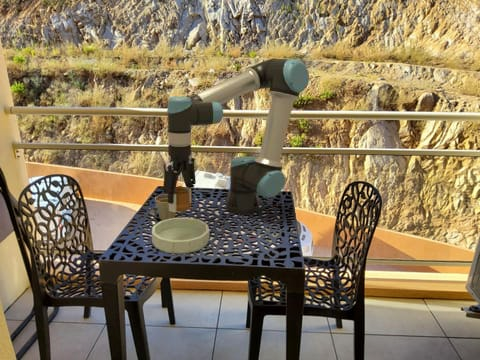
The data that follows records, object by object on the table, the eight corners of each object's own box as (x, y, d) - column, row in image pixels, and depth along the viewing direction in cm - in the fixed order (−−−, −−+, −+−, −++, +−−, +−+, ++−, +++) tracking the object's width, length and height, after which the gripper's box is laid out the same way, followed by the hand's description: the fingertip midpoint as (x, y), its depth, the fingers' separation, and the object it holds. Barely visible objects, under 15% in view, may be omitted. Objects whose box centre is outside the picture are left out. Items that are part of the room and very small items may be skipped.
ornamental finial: (189, 212, 132) (167, 212, 132) (192, 205, 139) (171, 204, 139) (189, 191, 130) (167, 190, 130) (192, 184, 137) (170, 183, 137)
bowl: (205, 227, 151) (206, 216, 149) (211, 251, 132) (211, 240, 131) (153, 229, 147) (153, 218, 146) (151, 255, 129) (150, 242, 127)
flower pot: (173, 223, 153) (173, 203, 151) (151, 220, 155) (150, 200, 152) (181, 214, 162) (181, 195, 159) (160, 212, 164) (160, 193, 161)
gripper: (189, 138, 139) (189, 197, 146) (149, 147, 122) (152, 214, 129) (206, 141, 135) (205, 201, 142) (167, 151, 119) (169, 219, 126)
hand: (180, 207), depth 136 cm, fingers closed on ornamental finial, 7 cm apart
